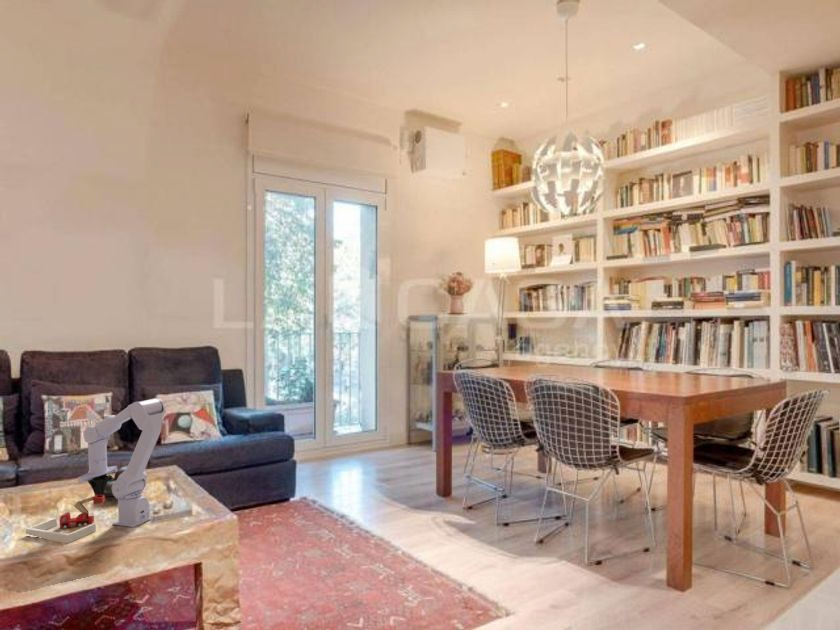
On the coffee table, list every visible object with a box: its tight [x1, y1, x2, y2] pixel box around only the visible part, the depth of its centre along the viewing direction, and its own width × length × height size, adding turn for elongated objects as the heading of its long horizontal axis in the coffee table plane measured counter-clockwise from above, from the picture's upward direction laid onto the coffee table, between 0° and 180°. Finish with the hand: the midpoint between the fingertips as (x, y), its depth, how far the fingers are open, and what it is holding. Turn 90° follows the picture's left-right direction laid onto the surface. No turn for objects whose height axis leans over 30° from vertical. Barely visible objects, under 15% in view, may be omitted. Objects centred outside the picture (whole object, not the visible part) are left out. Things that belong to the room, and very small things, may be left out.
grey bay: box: [25, 517, 97, 544], centre depth 193 cm, size 19×10×2 cm, turn 70°
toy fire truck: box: [59, 494, 106, 530], centre depth 201 cm, size 3×14×10 cm, turn 105°
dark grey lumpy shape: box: [103, 465, 128, 497], centre depth 231 cm, size 15×12×14 cm
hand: (99, 497), depth 207 cm, fingers closed
